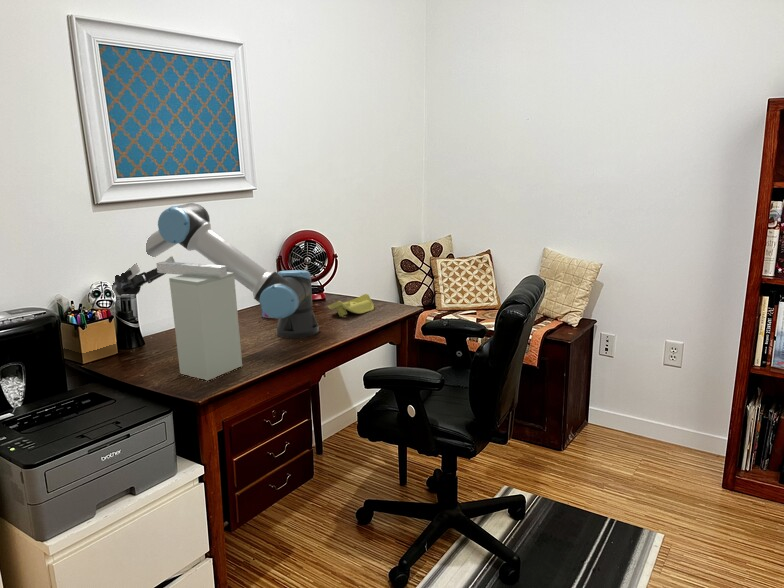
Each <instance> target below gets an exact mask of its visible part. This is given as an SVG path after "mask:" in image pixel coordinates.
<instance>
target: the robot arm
mask: <svg viewBox="0 0 784 588" xmlns="http://www.w3.org/2000/svg"><path fill="white" fill-rule="evenodd" d="M157 228H158V229H157V230H156V231H155V232H153V233H152V234H150V235H151V236H150V235H149V236H150V237H149V238H148V240H147V243H146V252H147V254H148V255H150V256H152V257H155V258H157V257H158V256H160V255H161V254H163V253H165V252H166V251H168V250H169V249H171V248H173V247H174V246H176V245H180V246H182V247H183V248H184V249H185V250H187V251H195V252H197V253H199V254H201V255H202V256H203V257H205V258H206V259H207V260H208V261H210V262H211V263H213V265H223V266H226V267H227V272H232V273H234V279H235V281H237V282H238V283H240V285H243V286H244V287H245V288H246V289H248V290H249V291H251V292H252V295H253V299H254V300H255V301H257V302H258V303H259V304H260V308H261V311H262V310H263V311H264V313H265V314H267V315H268V316H270V317H272V318H271V319H278V320H277V326H276V335H277V336H278V337H281V338H284V339H304V338H310V337H312V336H315V335H316V334H318V333H319V331H320V329H319V323H318V321H317V318H316V315H315V313H314V310H313V293H312V292H313V291H312V278H311V272H310V271H308V270H303V269H301V270H300V269H294V270H293V269H291V270H290V269H289V270H280V271H278V272H277V271H275V270H274V271H268V270H266V269H265V268H264V267H262V266H261V265H260V264H258V263H257V262H255V261H254V260H252V258H250V257H249V256H247V255H246V254H245V253H243V252H242V251H241V250H239V249H238V248H237V247H235V246H234V245H233V244H231V243H230V242H229V241H227V240H225V238H223V237H221V235H219V234H217V233H216V232H214V230H212V228H211V221H210V214H209V212H208V210H207V209H206V208H205V207H203V206H202V205H200V204H198V203H194V202H189V203H185V204H180V205H175V206H174V205H173V206H170V207H168V208H165V210H163V211H162V212H161V213H160V215H159V217H158V219H157ZM165 261H166V262H176V261H175V259H174V257H173V256H172V255H171V256H169V257H168V258H167V259H166V260H165ZM140 272H141V270H140V267H138V265H137V263H136V264H134V265H133V266H132V267H131V268H129V269H128V270H127V271H126V272H125V273H122V274H121V276H119V275H116V276H115V281H113V282H114V283H113V285H112V290H113V291H114V293H115V294H116V295H121V294H135V296H136V295H137V294H139V293H140V291H141V287H142V286H144V284H146V283H148V284H151V283H152V282H154V281H155V280H157V279H159V278H161V277H162V276H165V275H167V274H166V273H157V267H155V268H153V269H151V270H148V271H147V272H145V271H143V272H142V273H140Z"/></svg>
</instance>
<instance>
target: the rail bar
mask: <svg viewBox="0 0 784 588" xmlns="http://www.w3.org/2000/svg"><path fill="white" fill-rule="evenodd" d="M155 264H156V268H157V273H166V274H165V275H168V274H169V275H177V276H180V275H191V276H203V277H215V278H222V277H225V276H227V267H226V266H223V265H215V264H206V263H194V262H193V263H191V262H176V261H175V262H166V260H164V261H159V262H156V263H155Z"/></svg>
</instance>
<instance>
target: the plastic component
mask: <svg viewBox="0 0 784 588" xmlns="http://www.w3.org/2000/svg"><path fill="white" fill-rule="evenodd" d="M327 307H328V309H329V310H330V311H331V310H332V311H333V310H336V311H337V314H338V315H339V317H344V316H346V315H348V311H349V312H351V313H352V314H353V313H354V314H359V315H360V314H364V313H368V312H371V311H373V310H374V309H375V305H374V302H373V300H372V298H371V296H370V295H369V294H367V293H364V294H362V295H360V296H358V297H356V298H353V299H351V300H346V301H344V302H343V301H341V300H338V301H335V302H333V303H330V304H329V305H327Z"/></svg>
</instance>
